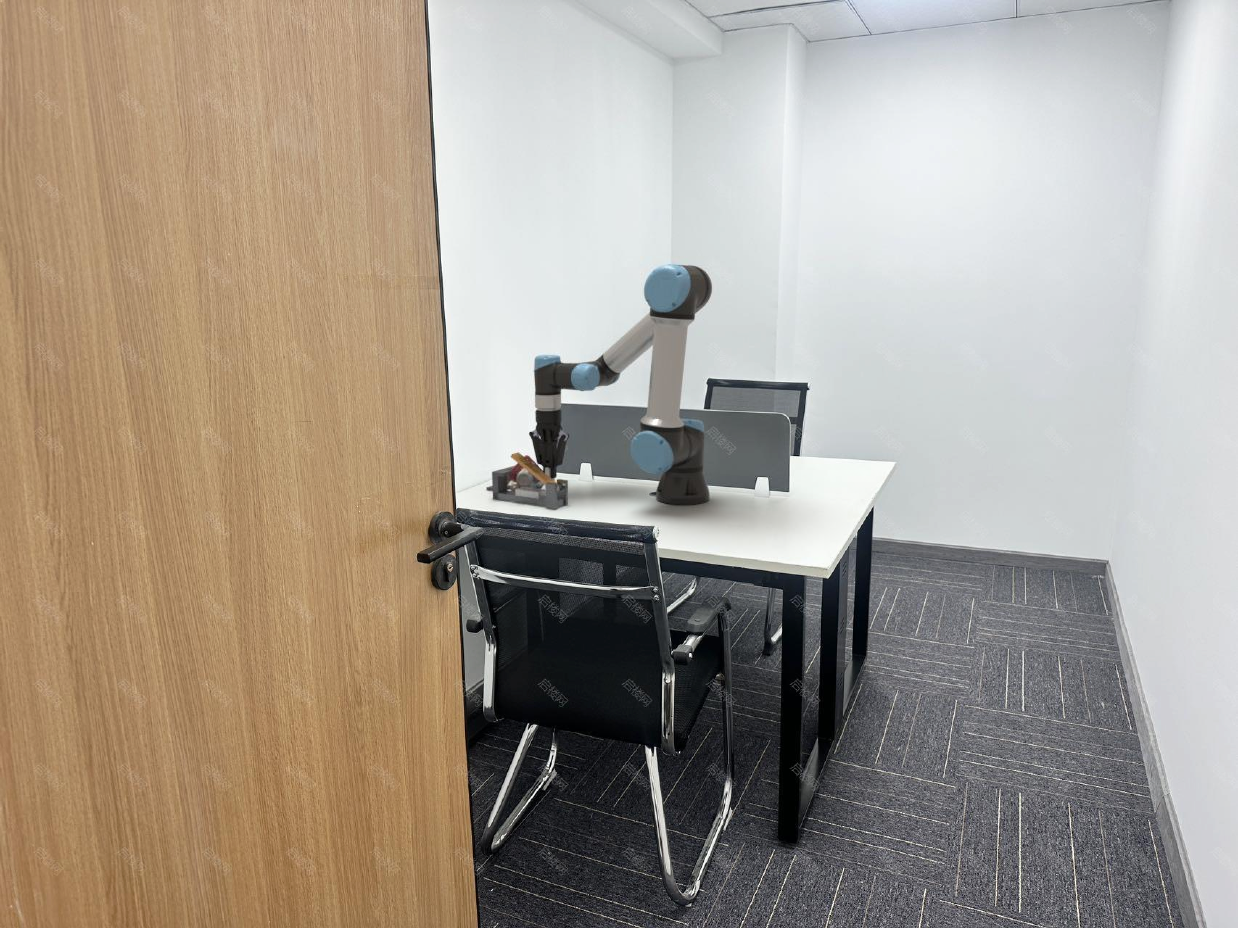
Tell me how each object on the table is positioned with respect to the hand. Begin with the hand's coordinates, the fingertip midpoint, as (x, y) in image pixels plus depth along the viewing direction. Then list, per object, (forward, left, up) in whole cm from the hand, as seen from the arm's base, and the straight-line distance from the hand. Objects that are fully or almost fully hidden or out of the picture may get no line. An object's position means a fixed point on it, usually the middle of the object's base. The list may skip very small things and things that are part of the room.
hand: (550, 488), depth 247 cm
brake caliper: (+7, +2, -2) cm, 7 cm away
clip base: (-1, +12, -1) cm, 12 cm away
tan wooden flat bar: (-4, +12, +7) cm, 14 cm away
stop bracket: (+17, 0, -1) cm, 17 cm away
